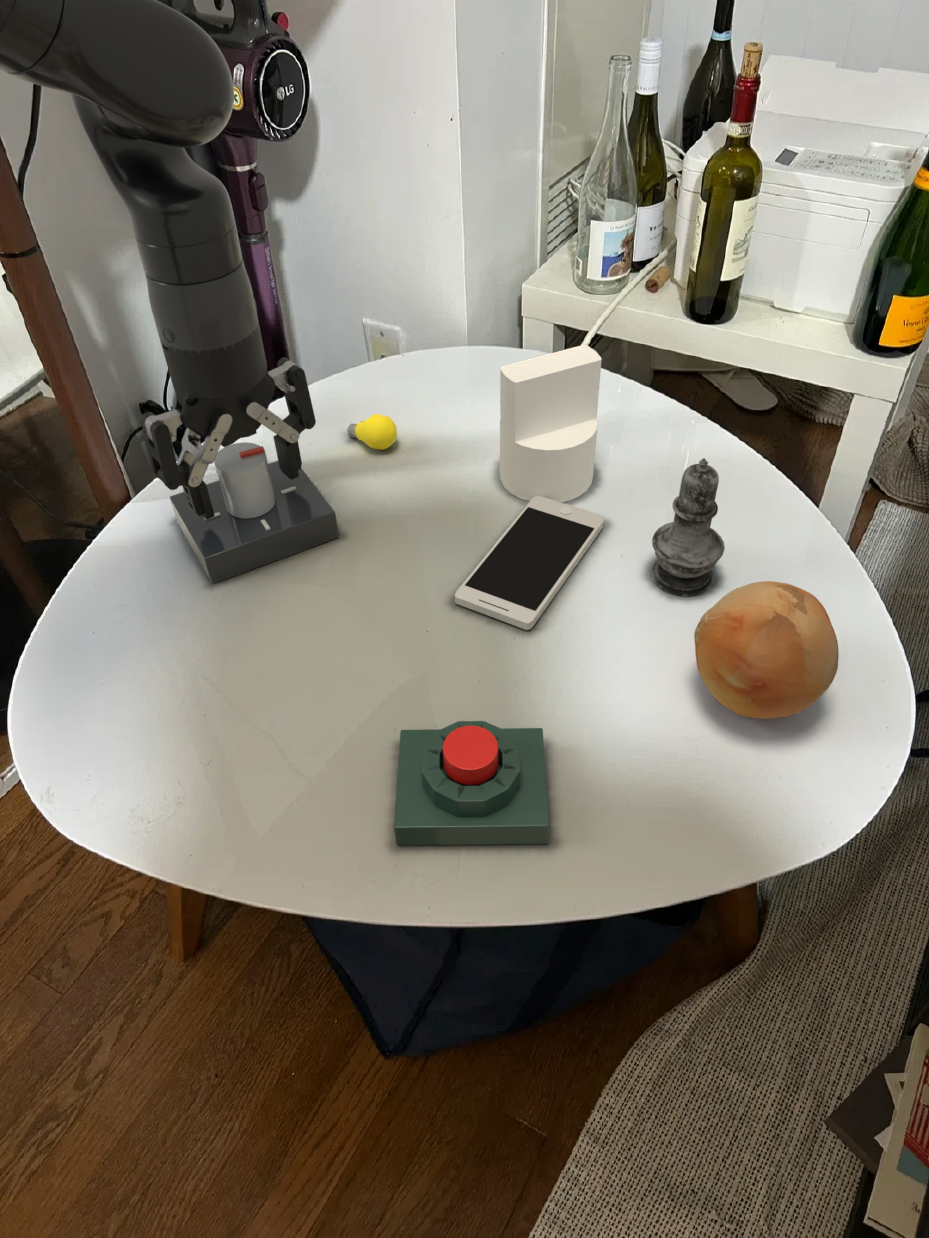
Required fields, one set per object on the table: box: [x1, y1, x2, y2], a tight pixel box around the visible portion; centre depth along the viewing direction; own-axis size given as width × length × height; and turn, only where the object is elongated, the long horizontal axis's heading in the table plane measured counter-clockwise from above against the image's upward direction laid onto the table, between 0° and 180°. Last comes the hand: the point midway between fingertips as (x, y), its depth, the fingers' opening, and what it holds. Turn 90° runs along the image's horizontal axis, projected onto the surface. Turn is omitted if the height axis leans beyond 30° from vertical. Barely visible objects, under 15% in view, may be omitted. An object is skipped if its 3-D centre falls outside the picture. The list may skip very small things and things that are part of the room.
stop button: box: [443, 726, 498, 785], centre depth 60 cm, size 4×4×2 cm
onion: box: [693, 580, 840, 720], centre depth 66 cm, size 10×10×10 cm
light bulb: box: [346, 413, 398, 451], centre depth 93 cm, size 3×6×4 cm, turn 57°
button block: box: [393, 720, 550, 847], centre depth 62 cm, size 10×8×4 cm
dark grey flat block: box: [169, 460, 340, 585], centre depth 83 cm, size 12×10×3 cm
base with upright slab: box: [499, 344, 603, 503], centre depth 85 cm, size 9×9×12 cm
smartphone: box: [454, 495, 606, 631], centre depth 80 cm, size 7×16×1 cm, turn 151°
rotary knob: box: [213, 441, 276, 519], centre depth 80 cm, size 4×4×5 cm
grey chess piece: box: [650, 457, 726, 598], centre depth 74 cm, size 6×6×12 cm
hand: (248, 494), depth 81 cm, fingers open, 8 cm apart
